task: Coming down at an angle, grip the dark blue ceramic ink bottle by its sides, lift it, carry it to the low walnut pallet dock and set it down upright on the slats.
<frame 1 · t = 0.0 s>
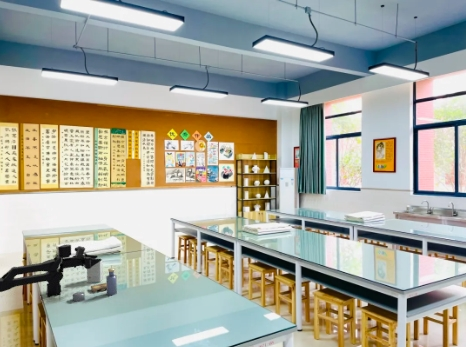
hand: (99, 257, 211), 17 cm above the table, tool horizontal, fingers open, 9 cm apart
ink dish: (78, 299, 189), on the table
small box: (95, 281, 220), on the table
dock: (101, 289, 204), on the table
ink bottle: (111, 293, 197), on the table
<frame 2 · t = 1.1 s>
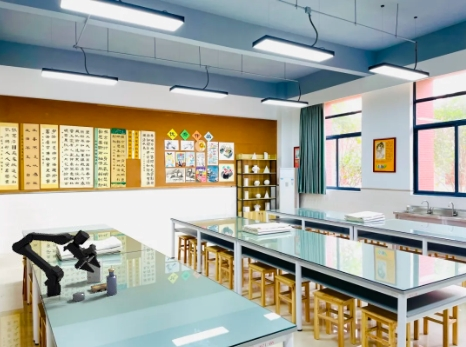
hand: (97, 269, 197), 14 cm above the table, tool tilted 45°, fingers open, 9 cm apart
nothing on the table moved.
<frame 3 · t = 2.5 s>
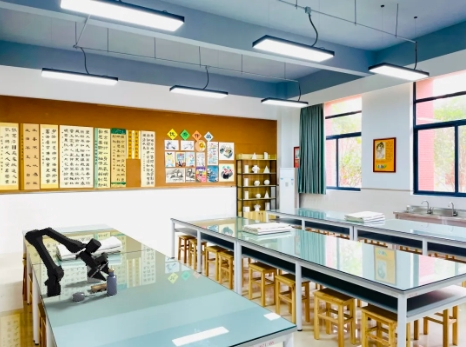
hand: (109, 278, 197), 9 cm above the table, tool tilted 45°, fingers open, 9 cm apart
nothing on the table moved.
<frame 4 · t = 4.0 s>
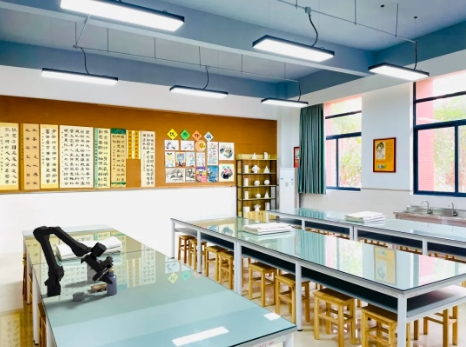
hand: (114, 282, 197), 7 cm above the table, tool tilted 45°, fingers closed on ink bottle, 5 cm apart
ink bottle: (111, 293, 197), on the table, touching gripper
everything else where it was.
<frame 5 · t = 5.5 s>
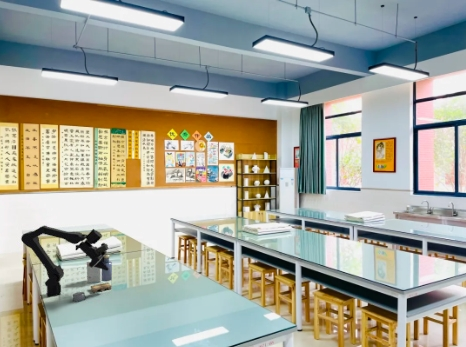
hand: (109, 268, 201), 13 cm above the table, tool tilted 45°, fingers closed on ink bottle, 5 cm apart
ink bottle: (106, 279, 201), point 7 cm above the table, touching gripper
everything else where it was.
when the fingers open (9 cm above the table, at t = 7.3 s): ink bottle stays where it is, resting on dock.
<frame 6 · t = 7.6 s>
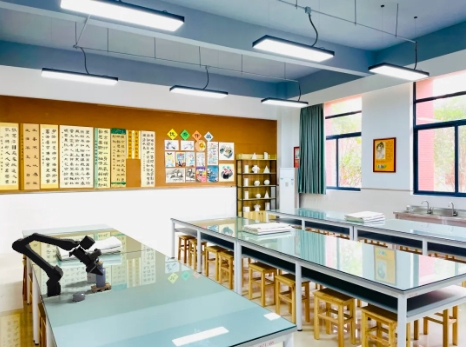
hand: (103, 272, 205), 10 cm above the table, tool tilted 45°, fingers open, 8 cm apart
ink bottle: (100, 285, 204), point 2 cm above the table, touching dock
everything else where it was.
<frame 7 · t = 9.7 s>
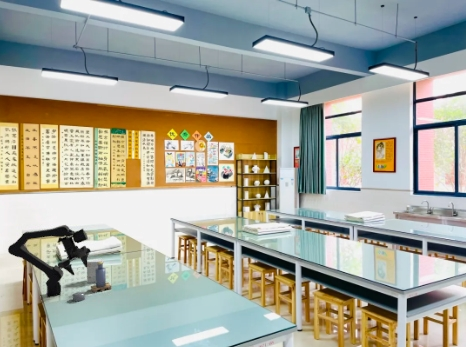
hand: (80, 271, 201), 12 cm above the table, tool tilted 20°, fingers open, 9 cm apart
nothing on the table moved.
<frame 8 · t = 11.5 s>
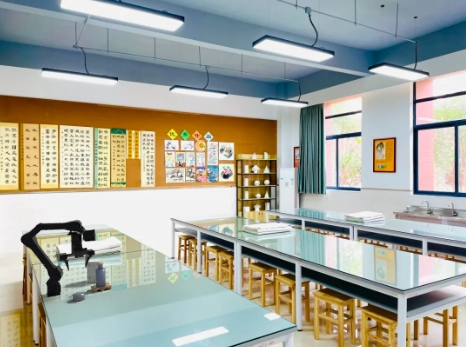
hand: (77, 269, 201), 13 cm above the table, tool pointing down, fingers open, 9 cm apart
nothing on the table moved.
at the end: ink bottle inside the target area on the dock (0.1 cm from its centre), point 2.0 cm above the dock's base; ink bottle tilted 0°; the gripper is holding nothing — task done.
